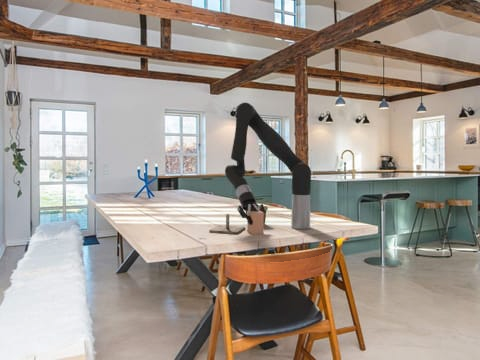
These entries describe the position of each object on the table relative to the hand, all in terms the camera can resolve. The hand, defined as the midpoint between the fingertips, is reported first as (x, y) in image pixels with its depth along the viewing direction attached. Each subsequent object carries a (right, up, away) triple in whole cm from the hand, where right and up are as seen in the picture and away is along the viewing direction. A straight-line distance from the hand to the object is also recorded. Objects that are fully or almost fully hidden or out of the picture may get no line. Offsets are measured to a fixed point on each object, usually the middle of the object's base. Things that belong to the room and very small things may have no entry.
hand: (257, 223), depth 165 cm
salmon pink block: (-1, -5, +2) cm, 5 cm away
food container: (0, -4, +21) cm, 22 cm away
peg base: (-14, -4, +6) cm, 16 cm away
